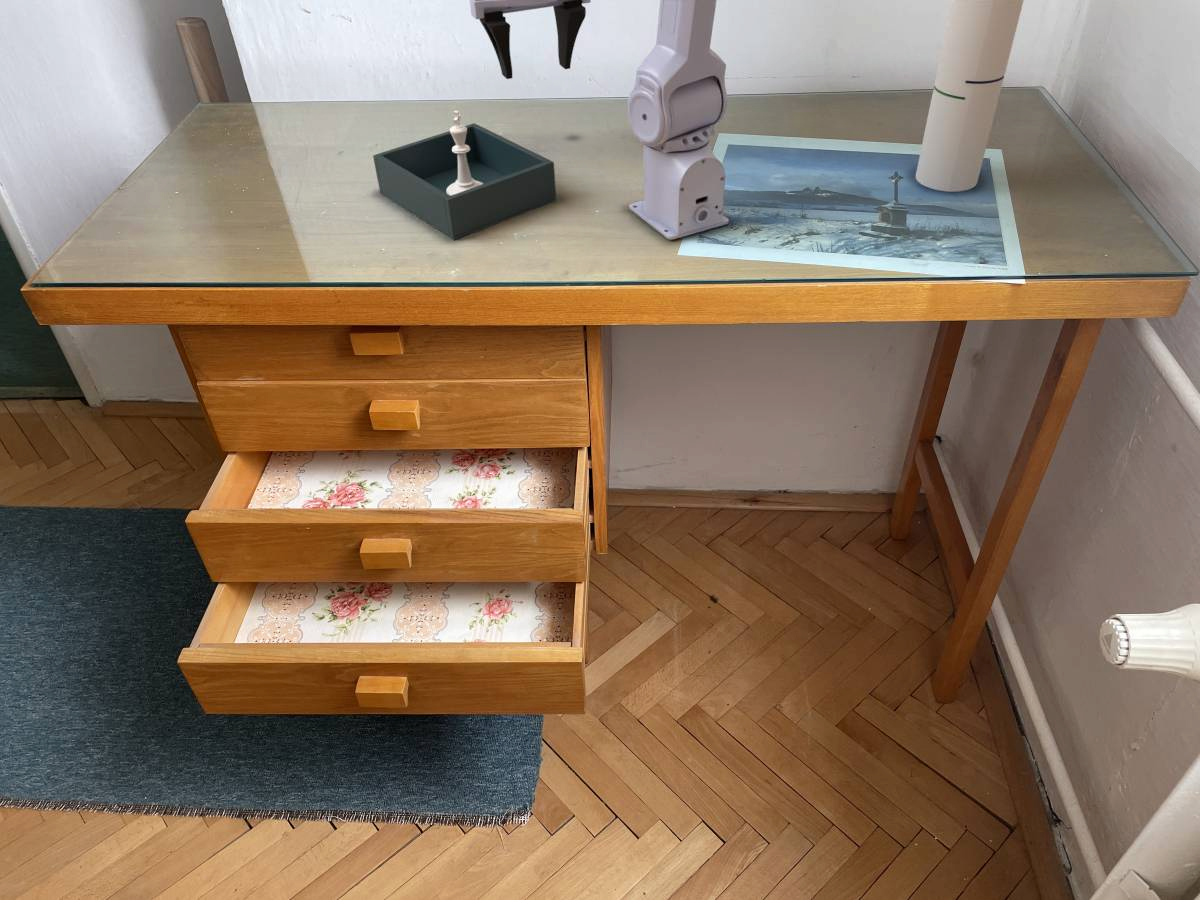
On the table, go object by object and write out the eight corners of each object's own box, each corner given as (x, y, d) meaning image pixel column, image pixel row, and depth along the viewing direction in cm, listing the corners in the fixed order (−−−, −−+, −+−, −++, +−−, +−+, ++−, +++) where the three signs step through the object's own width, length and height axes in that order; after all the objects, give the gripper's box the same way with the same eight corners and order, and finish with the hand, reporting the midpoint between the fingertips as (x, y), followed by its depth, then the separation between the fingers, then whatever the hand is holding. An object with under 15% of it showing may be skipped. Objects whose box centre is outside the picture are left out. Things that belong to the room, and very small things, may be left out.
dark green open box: (556, 200, 109) (554, 161, 106) (453, 240, 102) (447, 200, 99) (478, 159, 119) (474, 122, 116) (379, 193, 112) (372, 155, 109)
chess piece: (490, 185, 112) (481, 103, 106) (482, 203, 108) (472, 120, 102) (451, 185, 113) (439, 103, 106) (442, 202, 109) (429, 119, 102)
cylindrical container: (980, 193, 107) (1041, -43, 91) (917, 189, 109) (966, -44, 92) (973, 168, 113) (1030, -59, 96) (913, 165, 114) (960, -60, 98)
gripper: (573, -64, 110) (578, 53, 119) (457, -50, 106) (471, 71, 115) (595, -53, 105) (599, 69, 114) (474, -37, 101) (488, 88, 110)
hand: (536, 71), depth 114 cm, fingers open, 7 cm apart
